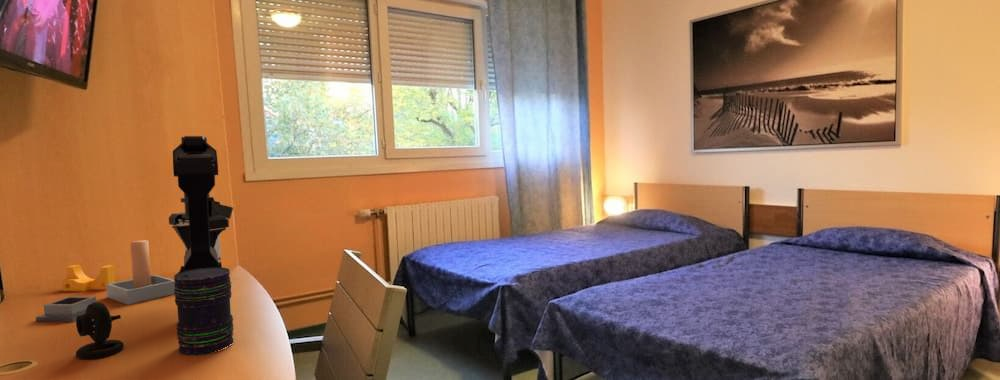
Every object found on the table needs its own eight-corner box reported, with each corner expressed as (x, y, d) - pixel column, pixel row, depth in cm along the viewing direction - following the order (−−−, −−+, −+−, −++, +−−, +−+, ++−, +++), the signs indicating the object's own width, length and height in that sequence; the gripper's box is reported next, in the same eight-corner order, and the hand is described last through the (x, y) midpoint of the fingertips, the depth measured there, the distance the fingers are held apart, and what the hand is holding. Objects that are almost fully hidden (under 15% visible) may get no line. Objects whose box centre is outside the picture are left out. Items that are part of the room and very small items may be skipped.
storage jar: (227, 333, 113) (223, 264, 112) (240, 346, 106) (236, 273, 104) (173, 345, 107) (168, 272, 105) (183, 360, 99) (178, 282, 98)
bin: (177, 293, 144) (176, 280, 144) (127, 304, 134) (126, 291, 134) (156, 286, 151) (155, 274, 150) (107, 297, 141) (106, 284, 140)
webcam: (69, 354, 102) (65, 304, 102) (114, 342, 109) (111, 294, 108) (84, 363, 98) (80, 311, 97) (130, 350, 104) (127, 300, 103)
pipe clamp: (62, 291, 147) (60, 268, 147) (76, 287, 152) (74, 264, 151) (103, 291, 146) (101, 268, 146) (116, 287, 151) (114, 265, 150)
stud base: (104, 309, 130) (103, 295, 130) (72, 321, 121) (71, 307, 121) (70, 308, 131) (69, 295, 130) (36, 321, 122) (34, 306, 121)
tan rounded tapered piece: (155, 292, 143) (152, 241, 141) (137, 296, 139) (133, 243, 138) (148, 289, 145) (145, 239, 144) (130, 293, 142) (126, 242, 140)
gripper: (247, 192, 138) (250, 251, 139) (208, 189, 148) (211, 244, 150) (203, 196, 129) (207, 259, 130) (166, 193, 139) (169, 251, 140)
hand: (200, 253), depth 138 cm, fingers open, 9 cm apart
